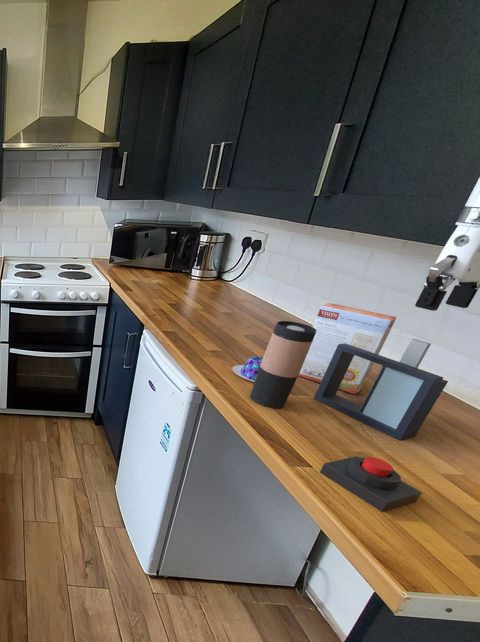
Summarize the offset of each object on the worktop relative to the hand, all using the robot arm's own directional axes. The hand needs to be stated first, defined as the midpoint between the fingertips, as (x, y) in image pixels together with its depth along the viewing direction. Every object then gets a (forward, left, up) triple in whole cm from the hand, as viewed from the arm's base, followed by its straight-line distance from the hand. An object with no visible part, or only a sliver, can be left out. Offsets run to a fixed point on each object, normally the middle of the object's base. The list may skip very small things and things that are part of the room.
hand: (440, 307), depth 81 cm
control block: (-14, +28, -28) cm, 42 cm away
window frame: (+3, +1, -28) cm, 28 cm away
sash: (0, 0, -26) cm, 26 cm away
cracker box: (+18, -10, -28) cm, 35 cm away
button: (-14, +28, -25) cm, 40 cm away
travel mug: (+14, +17, -28) cm, 36 cm away
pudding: (+25, +7, -28) cm, 38 cm away
